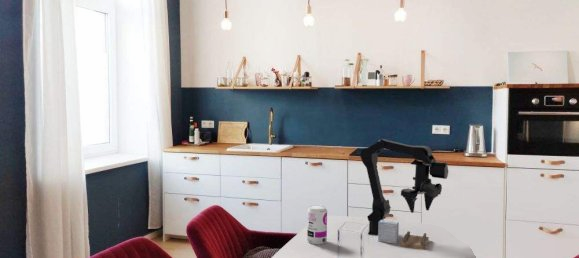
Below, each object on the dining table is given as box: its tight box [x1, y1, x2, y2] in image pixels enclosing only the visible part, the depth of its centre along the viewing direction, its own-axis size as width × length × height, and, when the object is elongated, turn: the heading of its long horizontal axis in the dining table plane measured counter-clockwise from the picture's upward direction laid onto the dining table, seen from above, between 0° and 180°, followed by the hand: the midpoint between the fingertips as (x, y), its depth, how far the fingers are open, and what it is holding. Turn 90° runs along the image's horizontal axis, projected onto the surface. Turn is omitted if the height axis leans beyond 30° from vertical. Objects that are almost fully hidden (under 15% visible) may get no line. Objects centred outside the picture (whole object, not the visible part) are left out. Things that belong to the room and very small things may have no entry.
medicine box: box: [377, 219, 400, 245], centre depth 207 cm, size 8×4×9 cm, turn 65°
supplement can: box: [306, 204, 328, 245], centre depth 205 cm, size 8×8×15 cm
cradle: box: [400, 230, 430, 250], centre depth 205 cm, size 10×13×3 cm
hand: (419, 211), depth 208 cm, fingers open, 9 cm apart
